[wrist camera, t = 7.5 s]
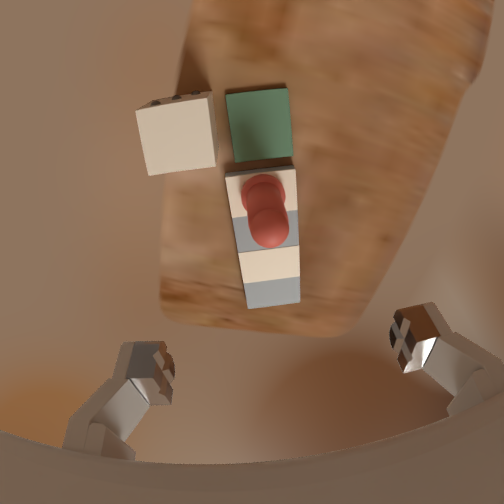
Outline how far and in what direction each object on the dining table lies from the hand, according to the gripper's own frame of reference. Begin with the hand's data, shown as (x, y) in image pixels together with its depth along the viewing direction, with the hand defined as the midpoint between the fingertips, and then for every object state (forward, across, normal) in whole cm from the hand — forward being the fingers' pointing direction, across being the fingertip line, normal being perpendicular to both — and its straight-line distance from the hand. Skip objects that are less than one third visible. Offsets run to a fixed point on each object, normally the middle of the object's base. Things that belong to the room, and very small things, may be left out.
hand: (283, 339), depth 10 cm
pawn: (+18, -1, +3) cm, 19 cm away
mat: (+19, -1, -3) cm, 19 cm away
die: (+17, +3, -4) cm, 17 cm away
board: (+20, -1, +9) cm, 21 cm away
